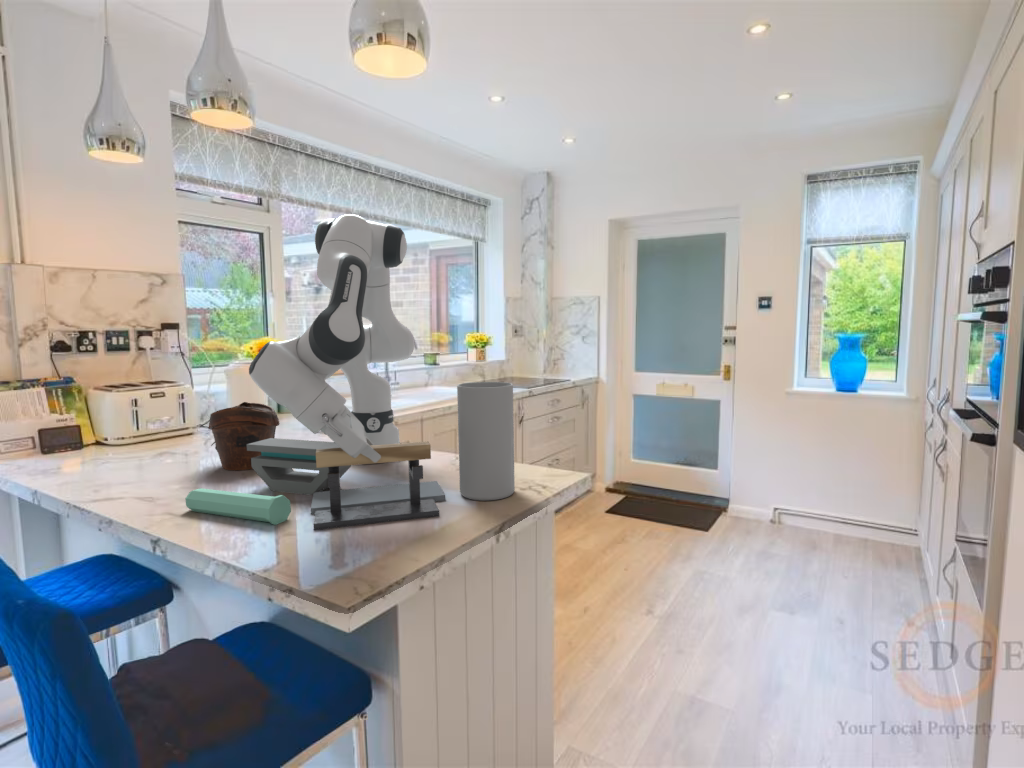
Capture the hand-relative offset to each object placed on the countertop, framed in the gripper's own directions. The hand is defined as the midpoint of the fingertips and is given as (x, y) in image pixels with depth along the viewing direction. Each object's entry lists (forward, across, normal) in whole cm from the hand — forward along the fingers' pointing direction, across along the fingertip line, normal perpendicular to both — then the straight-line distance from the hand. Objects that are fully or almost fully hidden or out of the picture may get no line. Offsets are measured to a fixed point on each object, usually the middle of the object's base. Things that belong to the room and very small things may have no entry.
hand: (377, 456), depth 113 cm
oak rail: (0, 0, +1) cm, 1 cm away
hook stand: (+8, 0, +9) cm, 12 cm away
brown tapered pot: (-15, +58, +33) cm, 69 cm away
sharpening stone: (-3, +27, +21) cm, 34 cm away
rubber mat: (+9, +12, +8) cm, 17 cm away
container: (-11, +11, +29) cm, 33 cm away
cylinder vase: (+26, +8, -8) cm, 29 cm away
